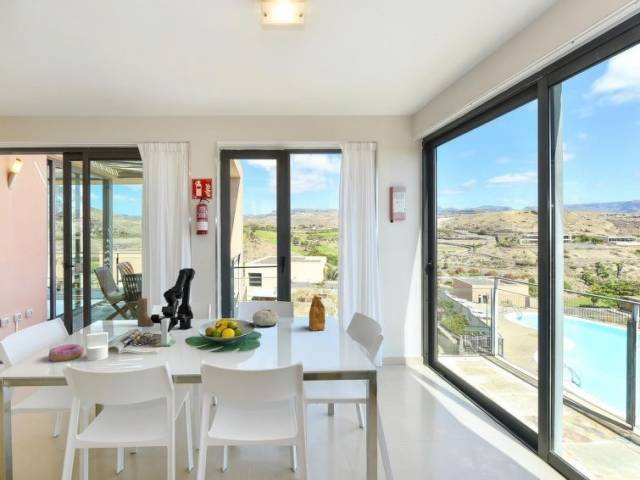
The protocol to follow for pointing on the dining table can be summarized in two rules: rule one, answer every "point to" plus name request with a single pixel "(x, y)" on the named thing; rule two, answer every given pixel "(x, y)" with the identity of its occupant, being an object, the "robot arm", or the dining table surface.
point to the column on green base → (165, 334)
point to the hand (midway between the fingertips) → (164, 332)
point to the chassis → (142, 339)
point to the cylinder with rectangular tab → (97, 346)
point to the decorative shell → (265, 317)
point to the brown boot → (143, 313)
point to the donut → (66, 352)
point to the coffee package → (317, 314)
